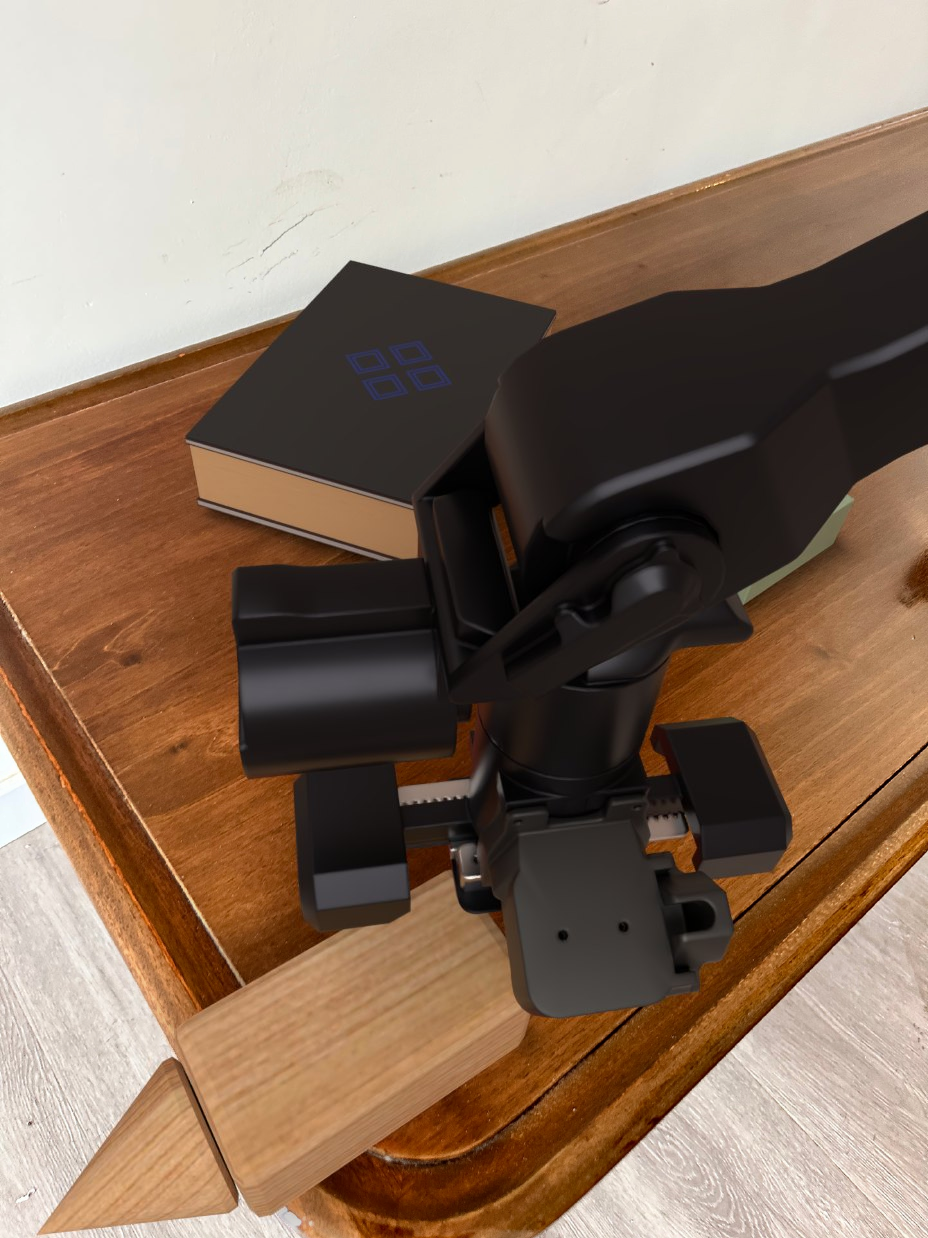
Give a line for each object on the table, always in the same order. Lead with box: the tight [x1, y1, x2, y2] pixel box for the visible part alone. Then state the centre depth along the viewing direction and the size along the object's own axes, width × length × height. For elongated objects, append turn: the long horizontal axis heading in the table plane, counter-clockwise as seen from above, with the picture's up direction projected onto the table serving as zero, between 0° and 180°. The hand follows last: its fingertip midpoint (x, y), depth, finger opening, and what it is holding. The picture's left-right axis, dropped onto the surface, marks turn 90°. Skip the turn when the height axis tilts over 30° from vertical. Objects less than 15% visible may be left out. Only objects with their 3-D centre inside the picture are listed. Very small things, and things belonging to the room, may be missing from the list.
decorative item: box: [36, 869, 532, 1236], centre depth 38 cm, size 7×7×20 cm
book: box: [184, 259, 557, 561], centre depth 69 cm, size 17×25×7 cm
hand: (519, 908), depth 43 cm, fingers closed
